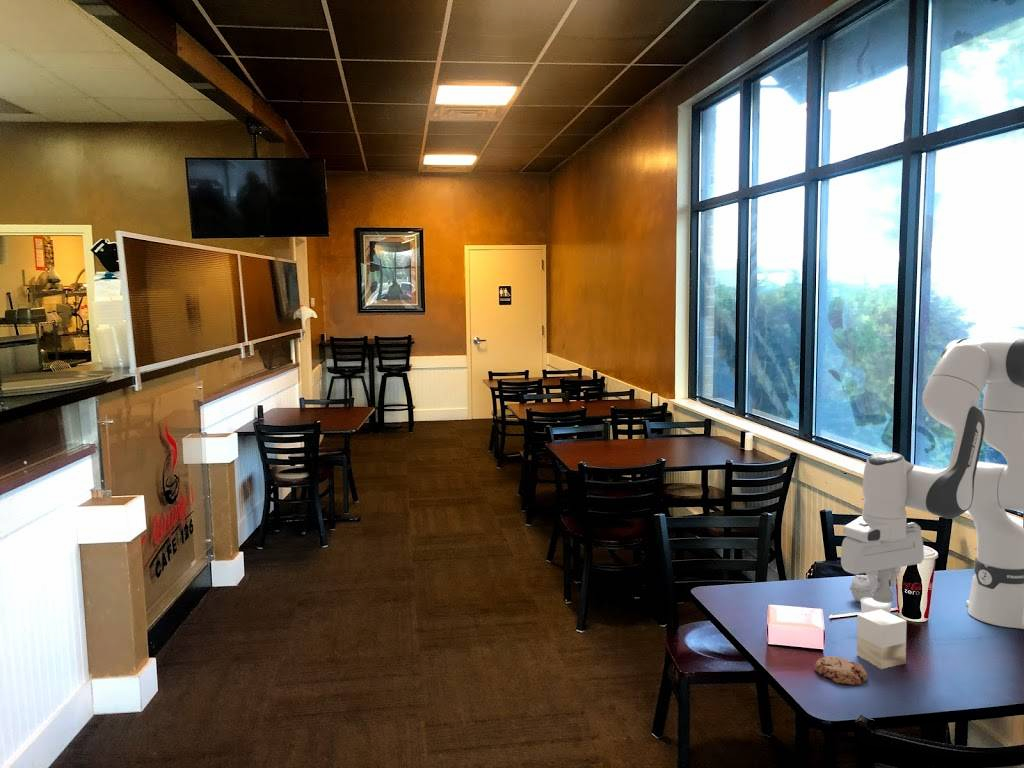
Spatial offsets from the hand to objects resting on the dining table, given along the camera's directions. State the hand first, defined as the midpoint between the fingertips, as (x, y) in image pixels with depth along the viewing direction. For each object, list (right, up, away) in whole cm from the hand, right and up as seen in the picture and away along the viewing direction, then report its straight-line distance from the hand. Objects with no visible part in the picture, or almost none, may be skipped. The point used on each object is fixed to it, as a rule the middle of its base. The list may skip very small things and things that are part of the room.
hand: (882, 587), depth 169 cm
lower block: (0, -17, +2) cm, 17 cm away
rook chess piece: (0, -3, 0) cm, 3 cm away
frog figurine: (+11, -13, +35) cm, 39 cm away
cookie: (-11, -18, -5) cm, 22 cm away
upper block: (0, -12, +1) cm, 12 cm away
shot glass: (+7, -15, +17) cm, 24 cm away
